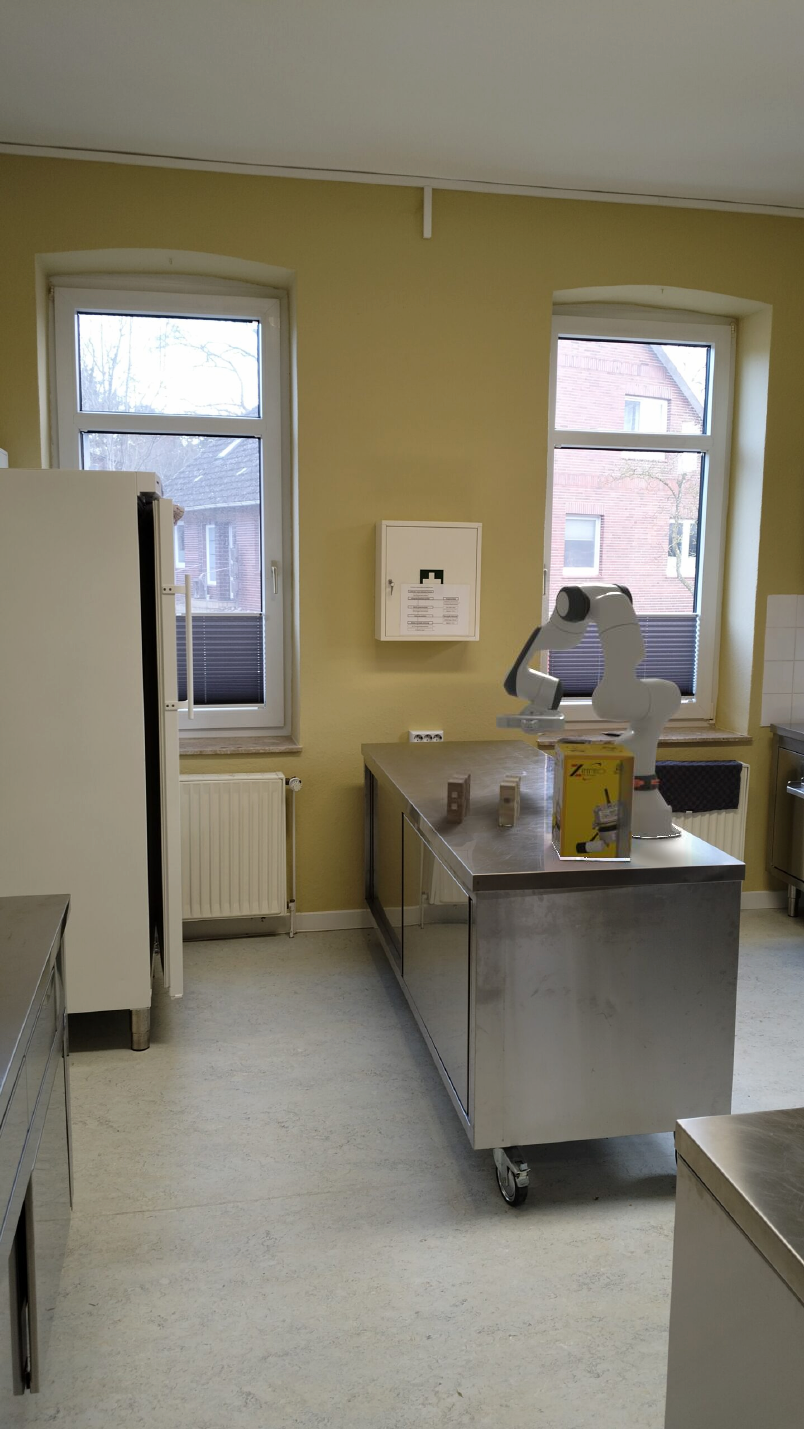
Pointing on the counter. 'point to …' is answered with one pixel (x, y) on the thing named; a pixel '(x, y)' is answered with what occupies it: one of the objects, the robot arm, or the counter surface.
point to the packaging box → (593, 800)
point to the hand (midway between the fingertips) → (528, 725)
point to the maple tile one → (509, 800)
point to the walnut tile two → (458, 797)
